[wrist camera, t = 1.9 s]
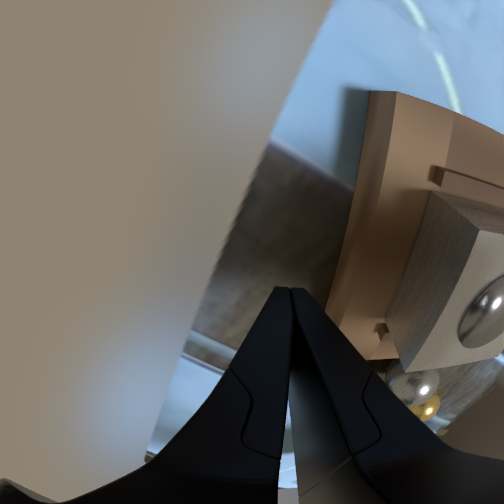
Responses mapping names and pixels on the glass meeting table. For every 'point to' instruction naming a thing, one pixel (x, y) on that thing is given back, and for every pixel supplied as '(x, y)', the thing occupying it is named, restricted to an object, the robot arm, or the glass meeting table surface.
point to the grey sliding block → (451, 287)
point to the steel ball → (412, 383)
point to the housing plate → (404, 204)
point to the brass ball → (427, 407)
